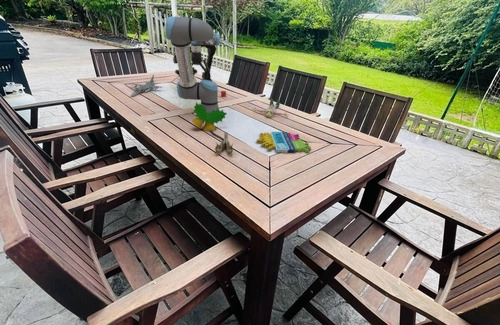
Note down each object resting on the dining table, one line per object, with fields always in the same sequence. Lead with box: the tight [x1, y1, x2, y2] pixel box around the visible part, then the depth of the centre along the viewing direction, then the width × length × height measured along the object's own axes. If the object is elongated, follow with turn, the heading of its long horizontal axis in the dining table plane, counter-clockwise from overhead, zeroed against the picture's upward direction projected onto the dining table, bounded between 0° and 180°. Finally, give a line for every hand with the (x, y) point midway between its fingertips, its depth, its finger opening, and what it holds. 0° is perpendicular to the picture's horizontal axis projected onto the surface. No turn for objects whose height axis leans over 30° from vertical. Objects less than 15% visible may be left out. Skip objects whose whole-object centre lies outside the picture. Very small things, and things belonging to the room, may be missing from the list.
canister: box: [220, 90, 227, 98], centre depth 230 cm, size 4×4×4 cm
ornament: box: [191, 102, 228, 132], centre depth 162 cm, size 21×8×15 cm, turn 105°
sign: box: [256, 131, 312, 154], centre depth 152 cm, size 26×2×30 cm
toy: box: [251, 98, 290, 118], centre depth 199 cm, size 28×7×30 cm
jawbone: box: [214, 131, 234, 156], centre depth 136 cm, size 9×15×10 cm
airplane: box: [128, 74, 161, 97], centre depth 228 cm, size 38×31×10 cm
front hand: (197, 80), depth 205 cm, fingers open, 13 cm apart
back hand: (186, 81), depth 235 cm, fingers open, 9 cm apart
